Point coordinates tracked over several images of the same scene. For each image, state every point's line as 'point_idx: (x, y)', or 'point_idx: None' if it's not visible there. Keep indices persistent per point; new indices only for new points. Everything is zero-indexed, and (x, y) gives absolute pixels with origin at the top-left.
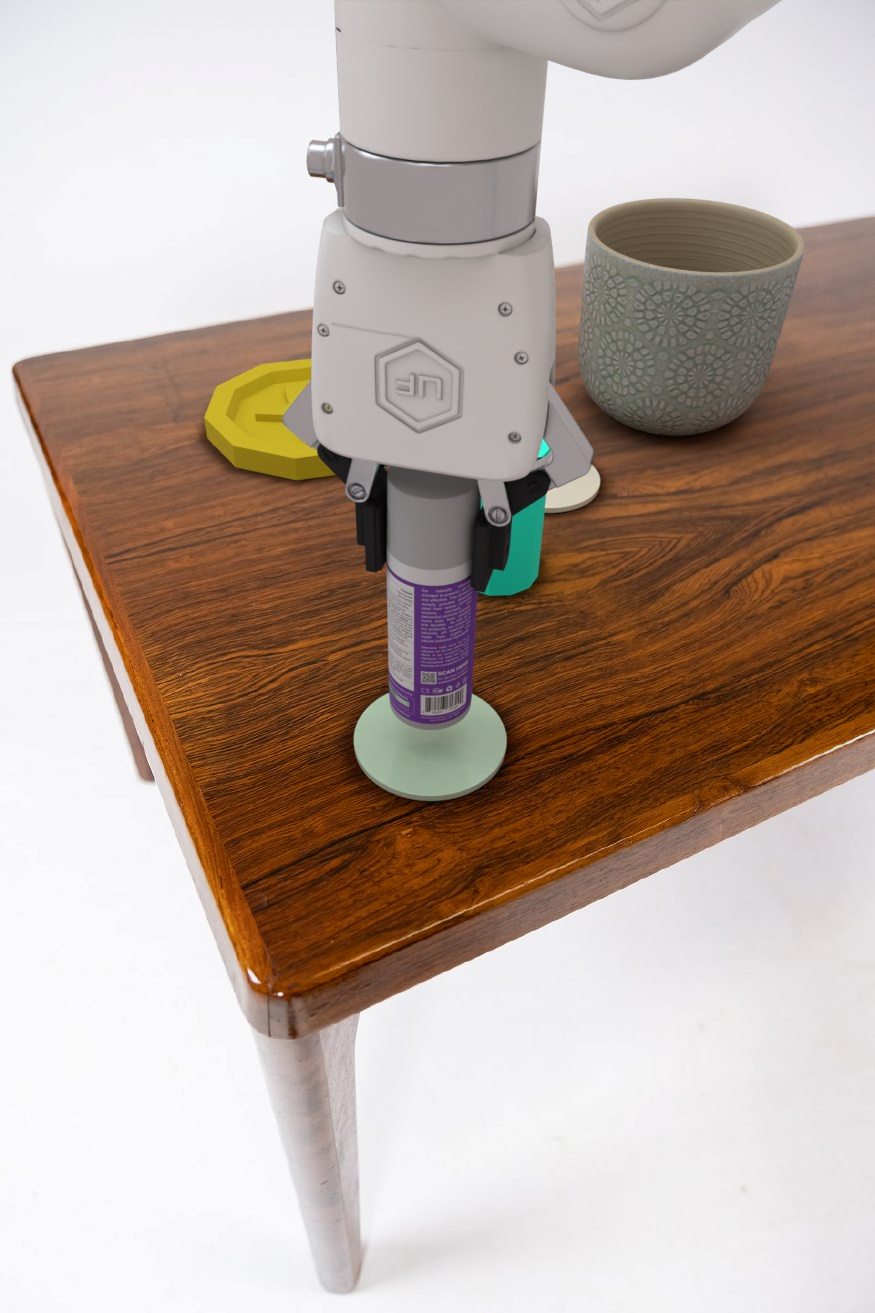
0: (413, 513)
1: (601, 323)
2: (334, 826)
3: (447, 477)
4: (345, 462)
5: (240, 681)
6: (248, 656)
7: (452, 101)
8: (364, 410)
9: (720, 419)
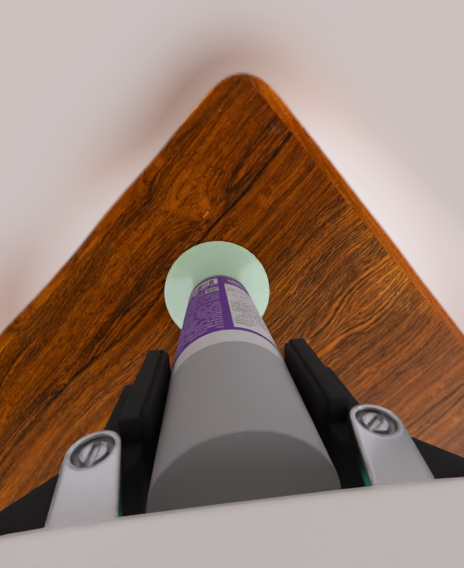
0: (254, 400)
1: None
2: (252, 202)
3: None
4: (436, 476)
5: (357, 300)
6: (360, 323)
7: None
8: None
9: None
